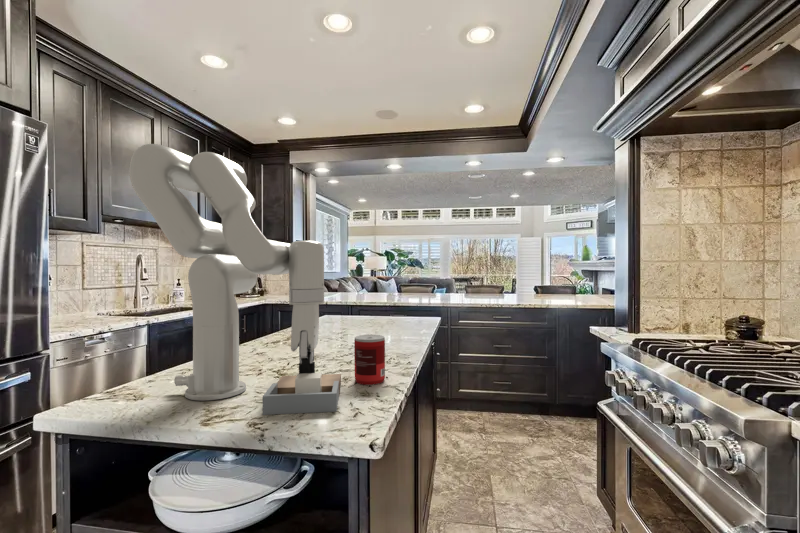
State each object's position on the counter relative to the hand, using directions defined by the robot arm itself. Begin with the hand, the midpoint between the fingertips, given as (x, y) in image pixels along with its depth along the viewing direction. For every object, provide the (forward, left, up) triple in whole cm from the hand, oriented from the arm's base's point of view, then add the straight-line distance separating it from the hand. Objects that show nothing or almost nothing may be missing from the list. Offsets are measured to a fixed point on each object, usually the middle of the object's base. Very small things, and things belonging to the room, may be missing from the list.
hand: (307, 380), depth 85 cm
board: (0, +4, -4) cm, 5 cm away
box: (0, -5, -4) cm, 6 cm away
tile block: (+1, -2, 0) cm, 2 cm away
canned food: (+14, +11, -4) cm, 18 cm away
